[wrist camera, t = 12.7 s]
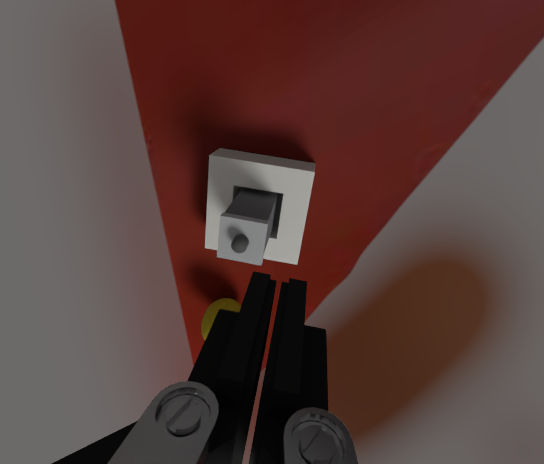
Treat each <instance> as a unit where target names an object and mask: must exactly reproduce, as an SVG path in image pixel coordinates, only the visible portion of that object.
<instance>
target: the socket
mask: <svg viewBox="0 0 544 464" xmlns="http://www.w3.org/2000/svg"><path fill="white" fill-rule="evenodd" d="M314 173H315V163H311V162H304V161H298V160H292V159H286V158H279V157H273V156H267V155H261V154H254V153H248V152H242V151H236V150H229V149H223V148H219V149H218V150H216V151H215V152H213V153H212V154H210V155H209V172H208V193H207V215H206V236H205V248H208V249H214V250H218V237H219V224H220V215H221V214H222V213H223V212H225V211H226V210H227V208H228V207H229V206H230V204H231V203H232V202H233V200H234V199H235V197H236V196H237V195H238V193H239V192H240V191H241V189H242V188H243V187H247V188H253V189H259V190H265V191H271V192H276V193H279V195H278V201H277V208H276V214H275V220H274V224H273V228H272V231H271V234H270V237H269V240H268V243H267V246H266V249H265V252H264V256H263V259H269V260H274V261H280V262H285V263H291V264H296V265H297V263H298V258H299V253H300V247H301V242H302V237H303V231H304V226H305V221H306V216H307V210H308V205H309V200H310V195H311V189H312V184H313V179H314Z"/></svg>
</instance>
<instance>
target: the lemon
mask: <svg viewBox="0 0 544 464" xmlns="http://www.w3.org/2000/svg"><path fill="white" fill-rule="evenodd" d="M219 309H225V310H230V311H235V312H240V309H241V305H240V304H239V303H238V302H237V301H235V300H233V299H230V298H222V299H219V300H216V301H215V302H213V303H212V304H211V305H210V306H209V307H208V309H207V310H206V312H205V314H204V316H203V320H202V325H201V330H202V335H203V338H204V339H205V340H206V338H207V335H208V333H209V331H210V329H211V326H212V324H213V322H214V319H215V317H216V315H217V313H218V311H219Z"/></svg>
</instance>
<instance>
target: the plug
mask: <svg viewBox="0 0 544 464" xmlns="http://www.w3.org/2000/svg"><path fill="white" fill-rule="evenodd" d="M278 195H279V193H276V192H271V191H265V190H259V189H253V188H247V187H243V188H242V189H241V191H240V192H239V193H238V195H237V196H236V197H235V199H234V200H233V202H232V203H231V204H230V206H229V207H228V208H227V210H226V211H225V212H223V213H222V214H221V215H220V224H219V237H218V250H217V257H220V258H225V259H230V260H235V261H240V262H246V263H251V264H256V265H262V262H263V256H264V252H265V249H266V246H267V243H268V240H269V237H270V234H271V231H272V228H273V224H274V220H275V214H276V208H277V201H278Z"/></svg>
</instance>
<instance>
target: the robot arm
mask: <svg viewBox="0 0 544 464" xmlns="http://www.w3.org/2000/svg"><path fill="white" fill-rule="evenodd" d="M270 276H271V275H269V274H264V273H259V272H253V274H252V277H251V280H250V283H249V285H248V288H247V291H246V294H245V297H244V300H243V303H242V306H241V309H240V312H235V311H230V310H225V309H219V311H218V313H217V315H216V317H215V319H214V322H213V324H212V326H211V329H210V331H209V333H208V335H207V338H206V340H205V342H204V345H203V347H202V349H201V351H200V354H199V356H198V358H197V360H196V363H195V365H194V367H193V370H192V372H191V374H190V377H189V379H188V381H186V382H178V383H175V384H173V385H170V386H168V387H166V388H165V389H163V390H162V391H161V392H159V394H158V395H157V396H156V397H155V398H154V399H153V400H152V402H151V403H150V405H149V406H148V407H147V409H146V410H145V412H144V413H143V414H142V416H141V418H140V419H139V420H138V421H136V422H135V423H132V424H131V425H129V426H126V427H124V428H122V429H121V430H118V431H116V432H114V433H112V434H110V435H108V436H106V437H104V438H102V439H100V440H98V441H96V442H94V443H92V444H90V445H88V446H86V447H84V448H82V449H80V450H78V451H76V452H74V453H72V454H70V455H68V456H66V457H64V458H62V459H60V460H58V461H56V462H54V463H52V464H242V460H243V455H244V450H245V445H246V441H247V436H248V431H249V426H250V421H251V416H252V411H253V406H254V401H255V396H256V391H257V386H258V381H259V377H260V372H261V367H262V362H263V357H264V352H265V346H266V340H267V334H268V328H269V323H270V317H271V311H272V305H273V299H274V293H275V287H276V280H271V279H270ZM306 290H307V281H301V280H296V279H291V278H290V279H289V283H287V282H282V285H281V290H280V295H279V301H278V306H277V311H276V317H275V322H274V327H273V333H272V338H271V343H270V349H269V354H268V359H267V365H266V370H265V376H264V381H263V387H262V392H261V398H260V403H259V409H258V415H257V420H256V426H255V432H254V437H253V443H252V449H251V454H250V460H249V464H358V461H357V456H356V452H355V448H354V444H353V440H352V438H351V435H350V433H349V431H348V430H347V428H346V426H345V425H344V424H343V422H342V421H341V420H339V419H338V418H337V417H336V416H335V415H334V414H332V413H330V412H328V383H327V345H326V344H327V343H326V330H325V329H321V328H317V327H311V326H306V325H304V321H305V306H306Z"/></svg>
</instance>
